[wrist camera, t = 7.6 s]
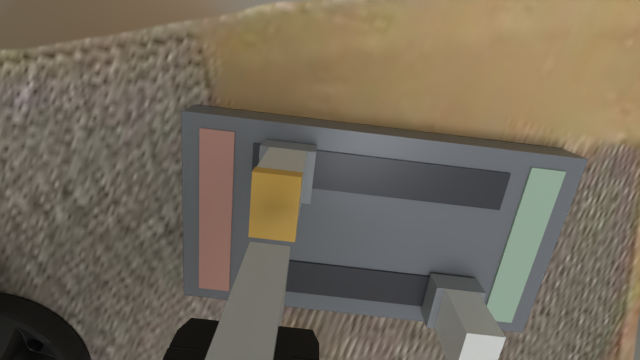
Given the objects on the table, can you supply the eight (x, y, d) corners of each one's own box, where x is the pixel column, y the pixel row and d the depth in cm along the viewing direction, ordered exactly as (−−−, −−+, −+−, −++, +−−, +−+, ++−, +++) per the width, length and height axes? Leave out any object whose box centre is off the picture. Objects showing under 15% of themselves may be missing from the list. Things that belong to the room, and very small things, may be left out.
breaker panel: (196, 273, 32) (145, 358, 23) (196, 104, 27) (131, 130, 18) (505, 308, 33) (571, 404, 24) (561, 148, 28) (672, 194, 19)
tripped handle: (261, 188, 26) (238, 235, 19) (264, 138, 25) (241, 170, 18) (311, 194, 26) (305, 243, 19) (317, 144, 25) (312, 178, 18)
